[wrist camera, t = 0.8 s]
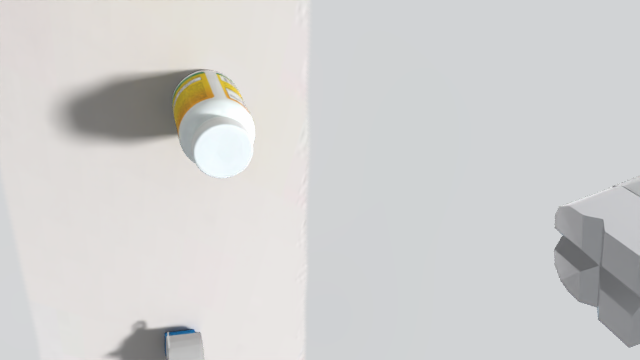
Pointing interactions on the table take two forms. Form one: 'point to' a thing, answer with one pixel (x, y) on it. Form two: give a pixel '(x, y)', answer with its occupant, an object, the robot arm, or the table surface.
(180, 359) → the electric motor
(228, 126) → the supplement bottle
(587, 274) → the robot arm
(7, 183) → the table surface
